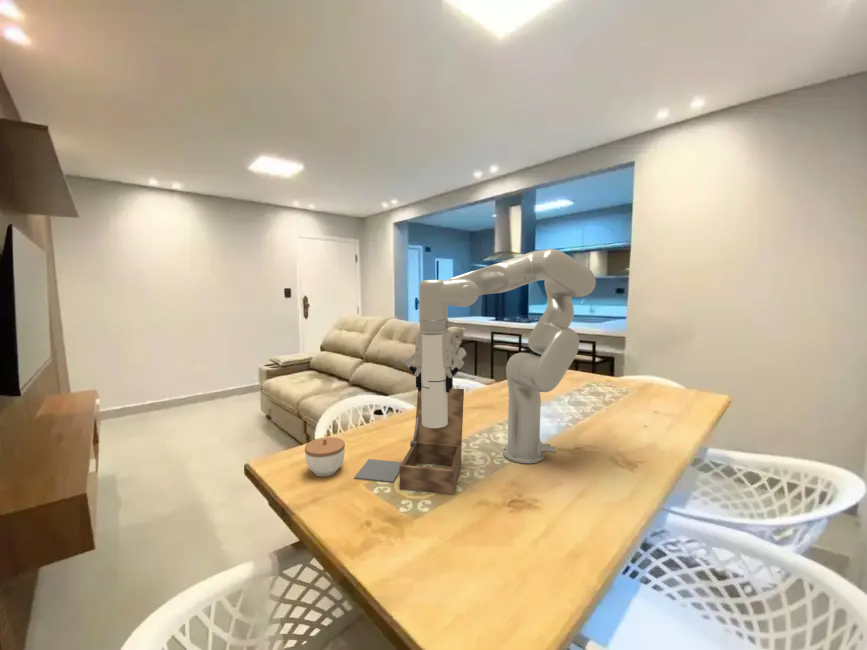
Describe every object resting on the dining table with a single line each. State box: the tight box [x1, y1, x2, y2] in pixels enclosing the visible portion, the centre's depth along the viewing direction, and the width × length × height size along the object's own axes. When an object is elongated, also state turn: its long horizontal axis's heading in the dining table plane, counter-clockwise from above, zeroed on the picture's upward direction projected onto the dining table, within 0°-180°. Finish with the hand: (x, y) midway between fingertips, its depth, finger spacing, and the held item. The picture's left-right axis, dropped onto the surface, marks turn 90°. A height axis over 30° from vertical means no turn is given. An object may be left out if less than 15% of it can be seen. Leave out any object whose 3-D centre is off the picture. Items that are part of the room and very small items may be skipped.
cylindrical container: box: [421, 334, 448, 428], centre depth 101 cm, size 7×7×25 cm
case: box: [399, 388, 465, 495], centre depth 104 cm, size 14×22×21 cm, turn 169°
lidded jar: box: [304, 436, 346, 478], centre depth 104 cm, size 11×11×9 cm
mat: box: [353, 458, 402, 484], centre depth 105 cm, size 11×11×1 cm
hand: (434, 390), depth 101 cm, fingers closed on cylindrical container, 7 cm apart
